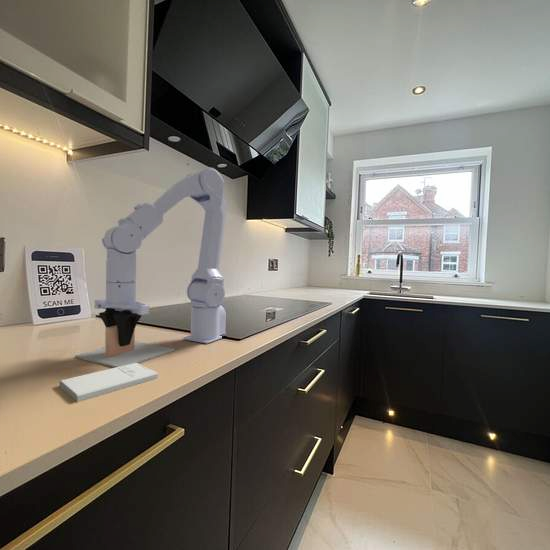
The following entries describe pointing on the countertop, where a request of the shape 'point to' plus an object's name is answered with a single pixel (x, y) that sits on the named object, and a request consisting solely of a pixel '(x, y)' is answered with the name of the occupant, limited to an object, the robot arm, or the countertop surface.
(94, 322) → the countertop surface
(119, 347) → the tile
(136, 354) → the mat
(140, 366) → the external hard drive
